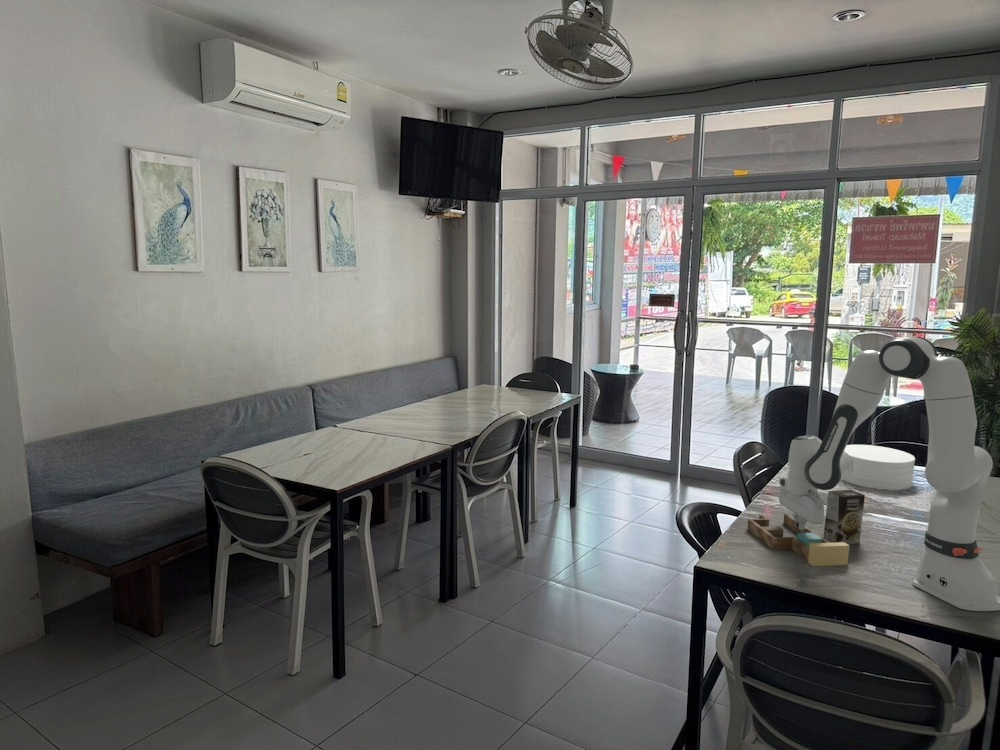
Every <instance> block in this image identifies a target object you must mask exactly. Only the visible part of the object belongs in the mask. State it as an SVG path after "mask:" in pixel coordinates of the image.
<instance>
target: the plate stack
mask: <svg viewBox="0 0 1000 750" xmlns="http://www.w3.org/2000/svg"><path fill="white" fill-rule="evenodd" d="M844 452H846V453H847V454H848V455H849V456H850V457H851V459H852V462H853V470H852V472H851V474H850V475H849V476H848V477H846V478H845V479H844V482H846V483H848V482H849V484H851V483H852V484H853V485H854V484H855V485H854V486H858V485H859V487H864V488H868V487H870V488H869V489H874V488H876V489H875V490H882V489H888V490H887V491H902V490H901V489H904V490H907V489H910V488H912V486H913V479H914V476H913V475H914V470H915V469H914V468H915V463H916V458H915V455H913V454H911V453H909V452H906V451H903V450H900V449H895V448H891V447H888V446H887V447H885V446H880V445H879V446H878V445H874V444H872V445H870V444H847V445H846V448H845V450H844Z"/></svg>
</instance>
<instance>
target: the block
mask: <svg viewBox="0 0 1000 750" xmlns="http://www.w3.org/2000/svg"><path fill="white" fill-rule="evenodd" d="M796 539H797V540H799V541H800V542H802V543H803V544H804V545H806V546H807V547H808V548H809V546H810V543H821V542H822V539H821V538H820V537H818V536H817V535H815V534H813V533H796Z"/></svg>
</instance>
